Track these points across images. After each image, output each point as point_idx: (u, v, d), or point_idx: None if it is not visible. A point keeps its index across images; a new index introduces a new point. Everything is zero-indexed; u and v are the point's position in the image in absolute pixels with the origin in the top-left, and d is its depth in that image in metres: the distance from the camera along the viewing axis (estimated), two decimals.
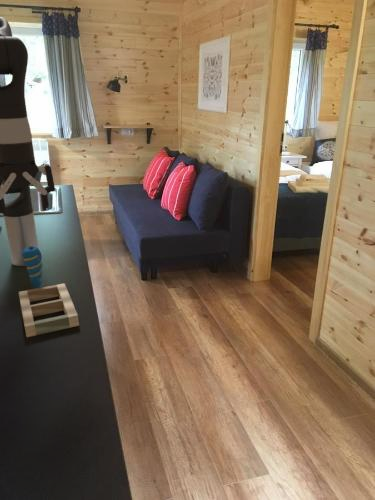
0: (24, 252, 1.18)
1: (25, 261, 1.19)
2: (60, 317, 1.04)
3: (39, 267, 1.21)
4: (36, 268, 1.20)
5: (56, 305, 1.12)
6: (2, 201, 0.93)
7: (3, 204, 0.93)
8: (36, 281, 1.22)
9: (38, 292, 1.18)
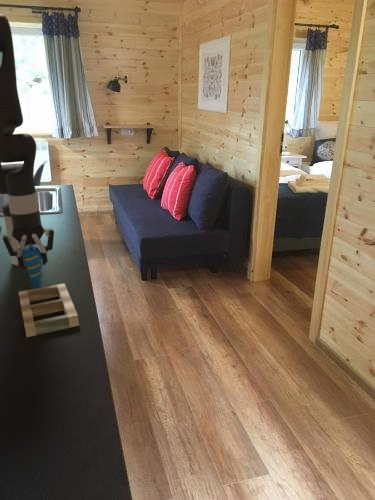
0: (24, 252, 1.18)
1: (25, 261, 1.19)
2: (60, 317, 1.04)
3: (39, 267, 1.21)
4: (36, 268, 1.20)
5: (56, 305, 1.12)
6: (21, 258, 1.19)
7: (22, 260, 1.19)
8: (36, 281, 1.22)
9: (38, 292, 1.18)
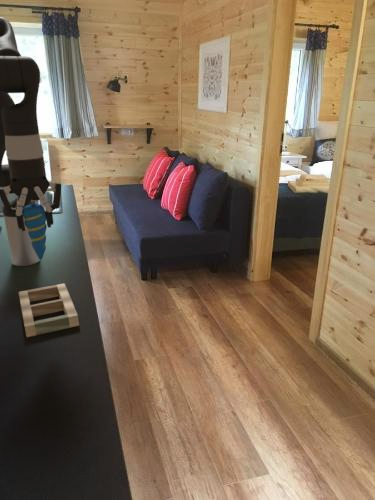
0: (25, 210, 0.96)
1: (26, 221, 0.97)
2: (60, 317, 1.04)
3: (43, 229, 0.98)
4: (40, 230, 0.98)
5: (56, 305, 1.12)
6: (21, 217, 0.96)
7: (22, 220, 0.96)
8: (39, 247, 1.00)
9: (38, 292, 1.18)
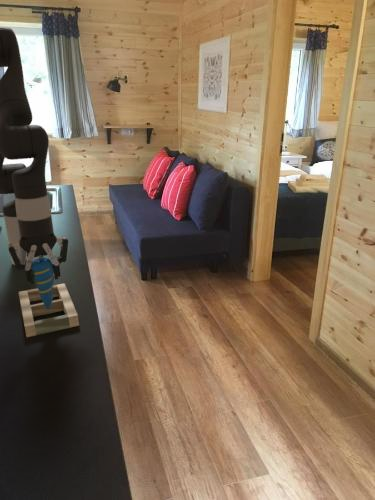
0: (33, 265, 1.01)
1: (35, 275, 1.02)
2: (60, 317, 1.04)
3: (51, 282, 1.03)
4: (48, 283, 1.03)
5: (56, 305, 1.12)
6: (30, 271, 1.01)
7: (31, 274, 1.01)
8: (47, 298, 1.04)
9: (38, 292, 1.18)
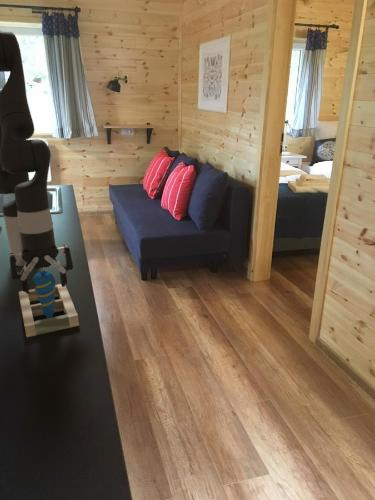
0: (35, 278, 1.02)
1: (36, 288, 1.03)
2: (60, 317, 1.04)
3: (52, 295, 1.05)
4: (49, 296, 1.04)
5: (56, 305, 1.12)
6: (25, 281, 1.01)
7: (26, 284, 1.02)
8: (49, 311, 1.06)
9: None
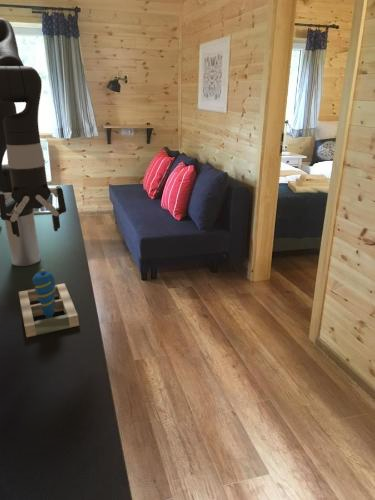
0: (35, 278, 1.02)
1: (36, 288, 1.03)
2: (60, 317, 1.04)
3: (52, 295, 1.05)
4: (49, 296, 1.04)
5: (56, 305, 1.12)
6: (15, 223, 0.96)
7: (16, 226, 0.96)
8: (49, 311, 1.06)
9: None
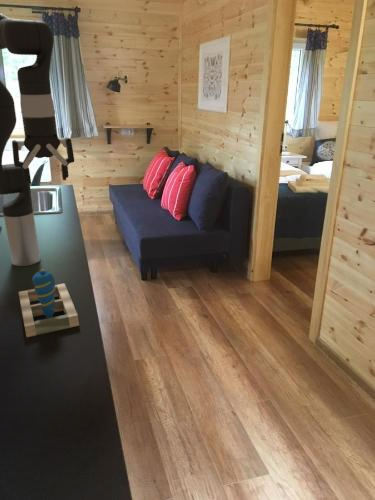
0: (35, 278, 1.02)
1: (36, 288, 1.03)
2: (60, 317, 1.04)
3: (52, 295, 1.05)
4: (49, 296, 1.04)
5: (56, 305, 1.12)
6: (27, 170, 1.03)
7: (28, 173, 1.04)
8: (48, 310, 1.06)
9: None
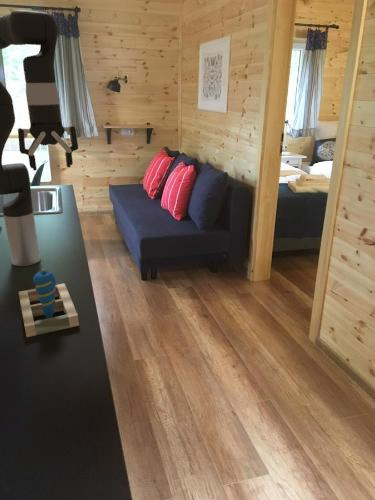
0: (36, 278, 1.02)
1: (37, 288, 1.03)
2: (60, 317, 1.04)
3: (53, 295, 1.05)
4: (50, 295, 1.04)
5: (56, 305, 1.12)
6: (33, 157, 1.06)
7: (34, 160, 1.07)
8: (49, 310, 1.06)
9: None
